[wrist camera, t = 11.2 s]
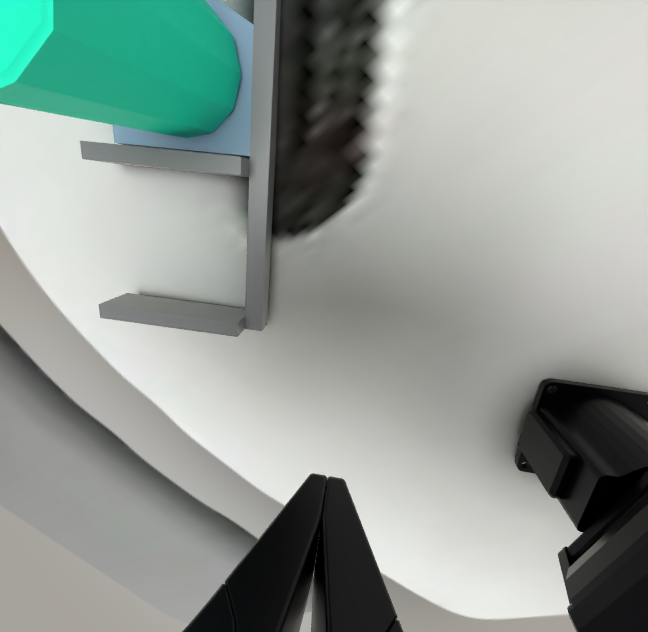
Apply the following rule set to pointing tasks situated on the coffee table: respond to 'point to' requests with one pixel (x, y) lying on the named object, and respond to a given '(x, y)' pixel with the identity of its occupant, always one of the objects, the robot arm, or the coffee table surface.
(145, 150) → the grey framed panel
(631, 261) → the coffee table surface
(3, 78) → the candle
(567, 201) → the coffee table surface
